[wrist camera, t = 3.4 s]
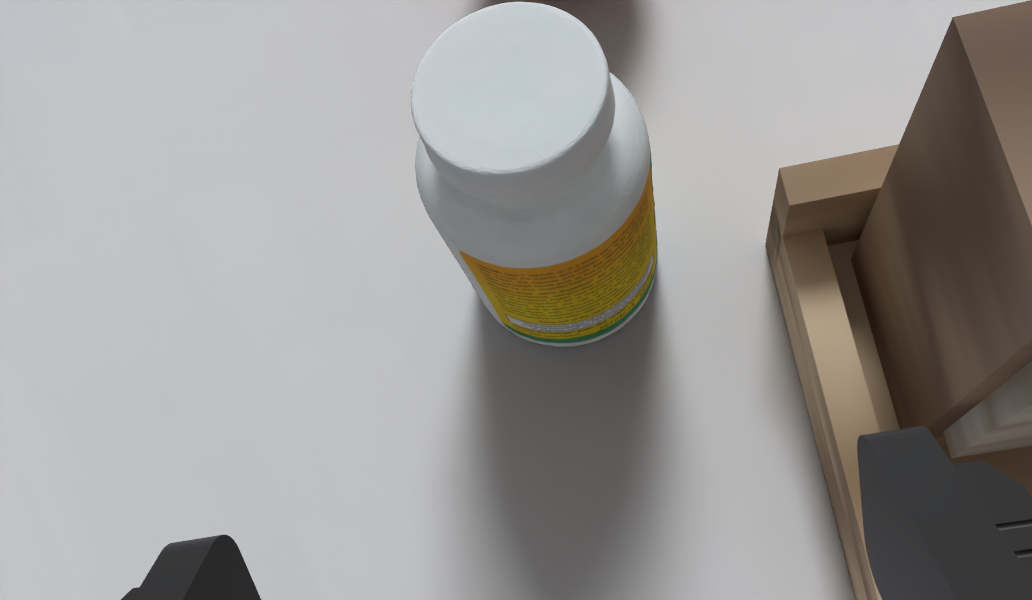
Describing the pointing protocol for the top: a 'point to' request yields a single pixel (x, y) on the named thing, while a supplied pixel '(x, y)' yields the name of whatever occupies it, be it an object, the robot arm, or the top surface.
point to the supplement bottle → (537, 172)
